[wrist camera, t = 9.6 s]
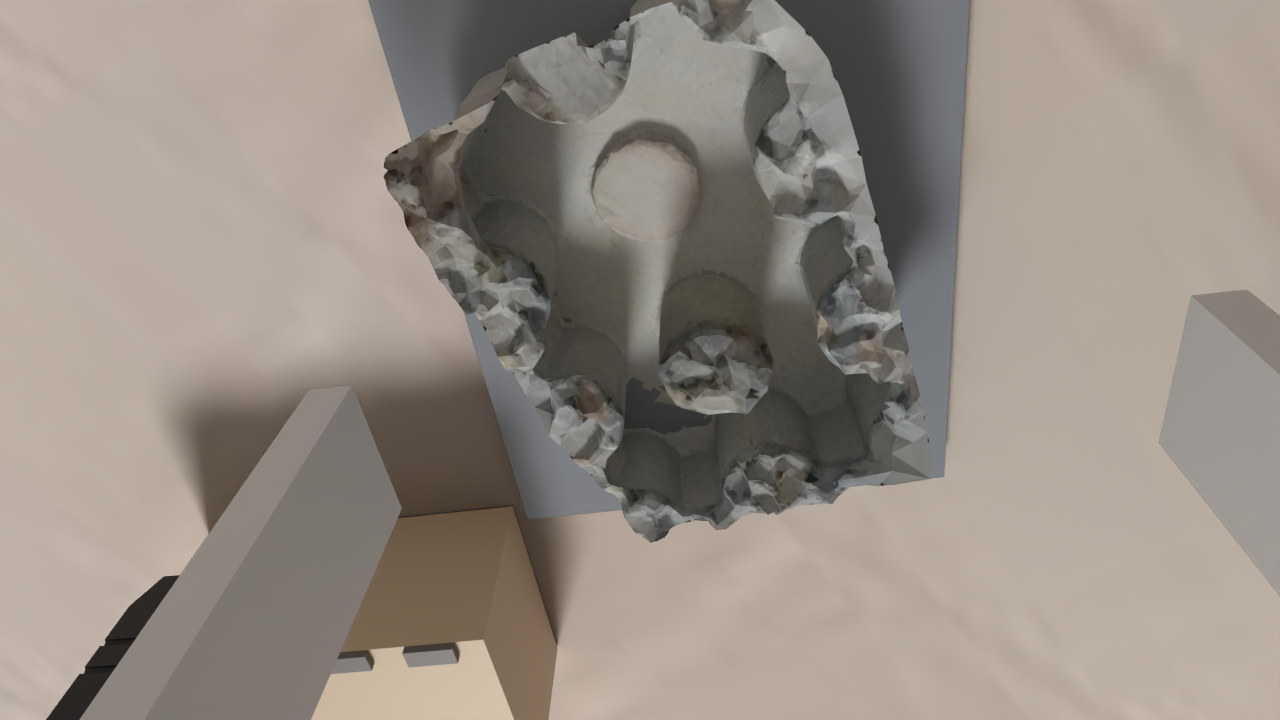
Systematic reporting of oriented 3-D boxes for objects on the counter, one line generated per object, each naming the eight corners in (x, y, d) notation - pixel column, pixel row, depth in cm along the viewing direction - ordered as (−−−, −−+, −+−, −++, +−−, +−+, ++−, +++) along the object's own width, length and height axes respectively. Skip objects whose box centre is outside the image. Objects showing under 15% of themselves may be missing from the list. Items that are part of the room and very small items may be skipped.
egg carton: (411, 83, 16) (343, 147, 13) (780, -74, 15) (817, -49, 11) (617, 476, 21) (608, 598, 18) (906, 392, 20) (958, 508, 16)
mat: (967, -159, 14) (978, -160, 14) (937, 462, 22) (943, 476, 21) (363, -53, 15) (353, -49, 15) (530, 504, 23) (527, 519, 22)
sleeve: (512, 506, 23) (481, 646, 19) (557, 647, 26) (538, 793, 22) (208, 538, 24) (118, 678, 20) (287, 671, 27) (223, 815, 23)
